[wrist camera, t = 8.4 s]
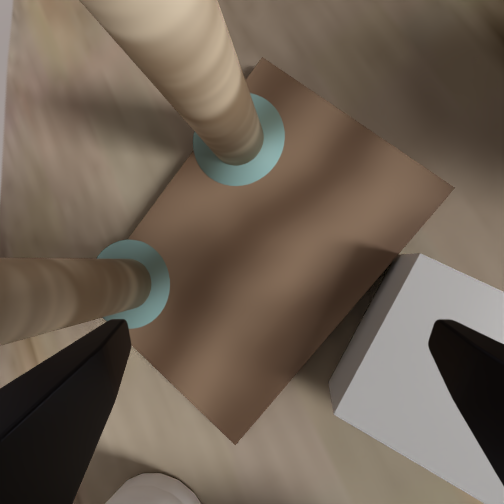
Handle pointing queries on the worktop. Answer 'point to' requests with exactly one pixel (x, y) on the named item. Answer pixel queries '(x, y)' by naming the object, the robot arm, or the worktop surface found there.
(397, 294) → the cover
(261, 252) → the board
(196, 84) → the pin loose
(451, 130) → the worktop surface
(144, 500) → the bottle
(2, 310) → the pin
